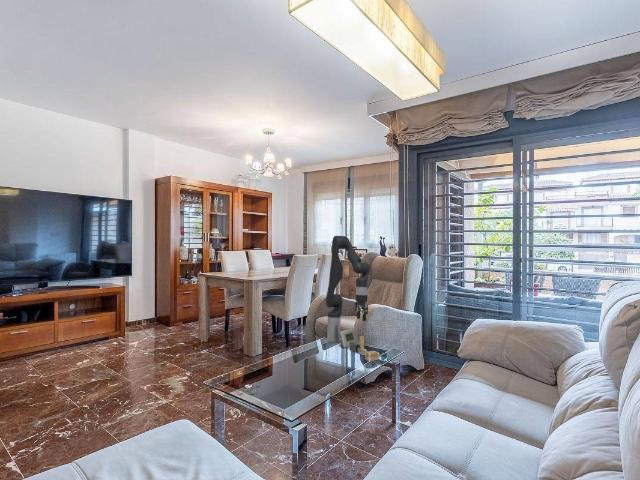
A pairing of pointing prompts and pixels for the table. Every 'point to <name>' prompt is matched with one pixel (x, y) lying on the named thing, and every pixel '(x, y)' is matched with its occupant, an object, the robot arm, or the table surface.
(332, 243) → the robot arm
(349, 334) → the digital clock
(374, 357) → the tan block
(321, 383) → the table surface
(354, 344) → the sleeve
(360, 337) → the tube
